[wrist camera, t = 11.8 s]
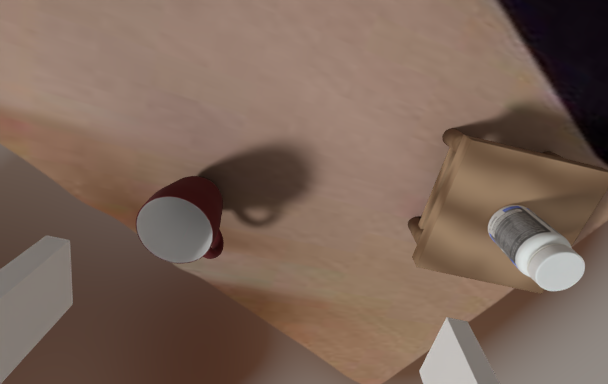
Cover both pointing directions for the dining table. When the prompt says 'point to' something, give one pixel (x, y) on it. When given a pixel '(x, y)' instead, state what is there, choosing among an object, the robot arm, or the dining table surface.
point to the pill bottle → (536, 248)
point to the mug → (182, 221)
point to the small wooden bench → (498, 205)
